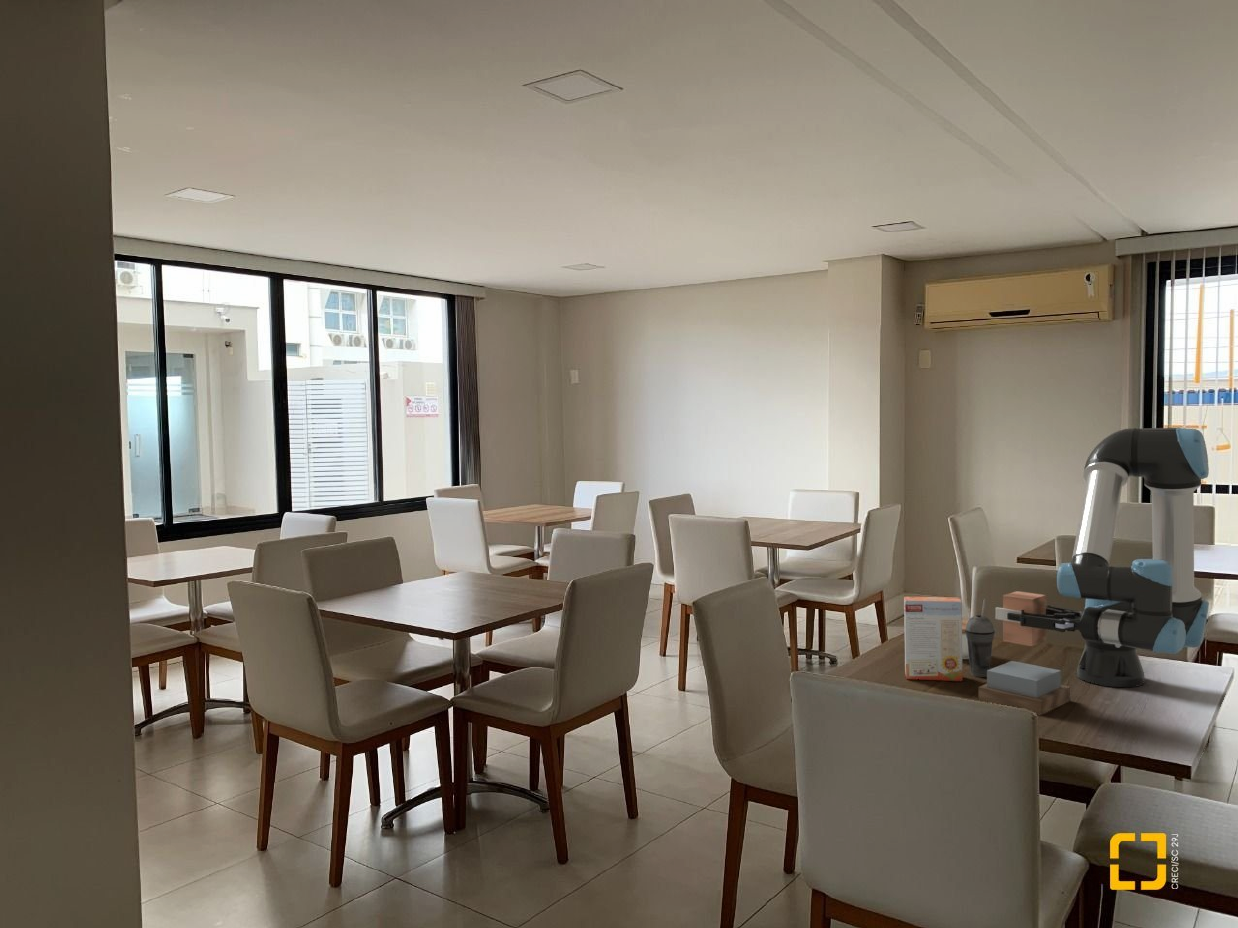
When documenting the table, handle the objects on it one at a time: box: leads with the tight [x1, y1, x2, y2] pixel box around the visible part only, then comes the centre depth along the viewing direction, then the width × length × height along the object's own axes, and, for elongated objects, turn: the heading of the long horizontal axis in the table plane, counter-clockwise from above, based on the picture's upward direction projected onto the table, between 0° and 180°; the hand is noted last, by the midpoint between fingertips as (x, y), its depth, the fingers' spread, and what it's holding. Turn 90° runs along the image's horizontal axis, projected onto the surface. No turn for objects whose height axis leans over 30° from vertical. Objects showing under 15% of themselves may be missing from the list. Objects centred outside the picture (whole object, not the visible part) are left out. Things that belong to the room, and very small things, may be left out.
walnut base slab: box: [978, 683, 1071, 716], centre depth 220 cm, size 15×15×4 cm
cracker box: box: [903, 596, 964, 682], centre depth 240 cm, size 14×6×21 cm, turn 76°
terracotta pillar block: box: [1002, 590, 1047, 647], centre depth 219 cm, size 7×7×11 cm
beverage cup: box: [965, 598, 996, 678], centre depth 242 cm, size 7×7×20 cm
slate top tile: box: [986, 660, 1062, 698], centre depth 220 cm, size 12×12×4 cm
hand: (1004, 610), depth 223 cm, fingers closed on terracotta pillar block, 7 cm apart
